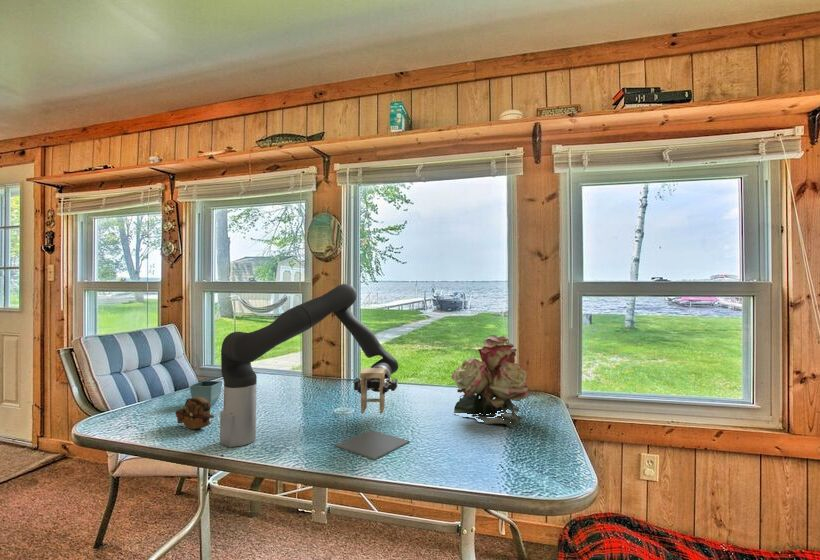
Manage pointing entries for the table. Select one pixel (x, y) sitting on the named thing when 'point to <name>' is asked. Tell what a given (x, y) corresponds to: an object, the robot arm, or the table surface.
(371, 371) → the pine stool
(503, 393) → the rose bouquet
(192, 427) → the wooden carving
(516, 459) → the table surface
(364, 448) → the charcoal mat
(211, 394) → the flower pot
